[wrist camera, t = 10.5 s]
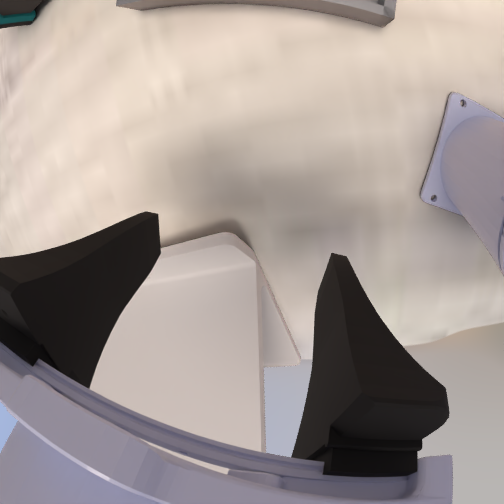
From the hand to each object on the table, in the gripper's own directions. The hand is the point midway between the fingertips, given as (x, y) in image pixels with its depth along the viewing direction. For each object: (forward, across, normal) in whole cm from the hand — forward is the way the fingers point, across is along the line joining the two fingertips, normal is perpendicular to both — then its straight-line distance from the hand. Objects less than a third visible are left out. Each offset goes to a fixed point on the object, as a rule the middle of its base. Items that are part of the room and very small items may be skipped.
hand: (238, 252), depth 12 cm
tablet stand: (+10, +9, +18) cm, 22 cm away
